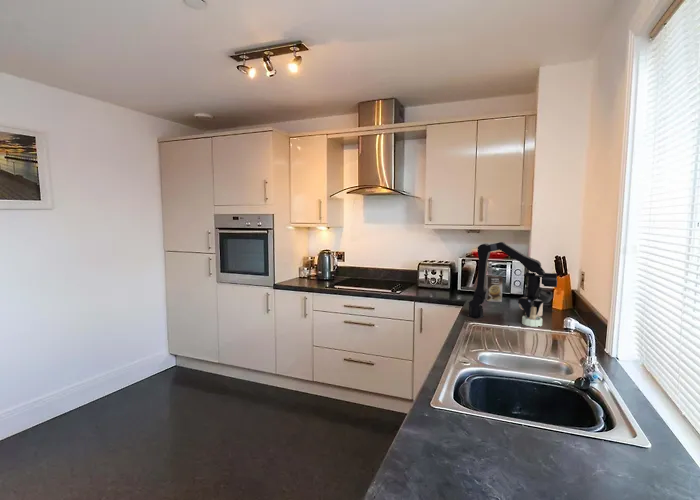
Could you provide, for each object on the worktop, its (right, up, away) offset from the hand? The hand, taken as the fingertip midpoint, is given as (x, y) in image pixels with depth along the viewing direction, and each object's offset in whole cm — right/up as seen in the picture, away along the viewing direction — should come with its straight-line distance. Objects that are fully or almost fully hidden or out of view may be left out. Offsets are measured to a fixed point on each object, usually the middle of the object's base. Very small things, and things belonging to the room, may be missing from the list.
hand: (532, 315), depth 188 cm
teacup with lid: (+8, -3, +18) cm, 20 cm away
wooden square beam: (0, -3, 0) cm, 3 cm away
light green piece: (0, -4, 0) cm, 4 cm away
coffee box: (0, 0, +52) cm, 52 cm away
